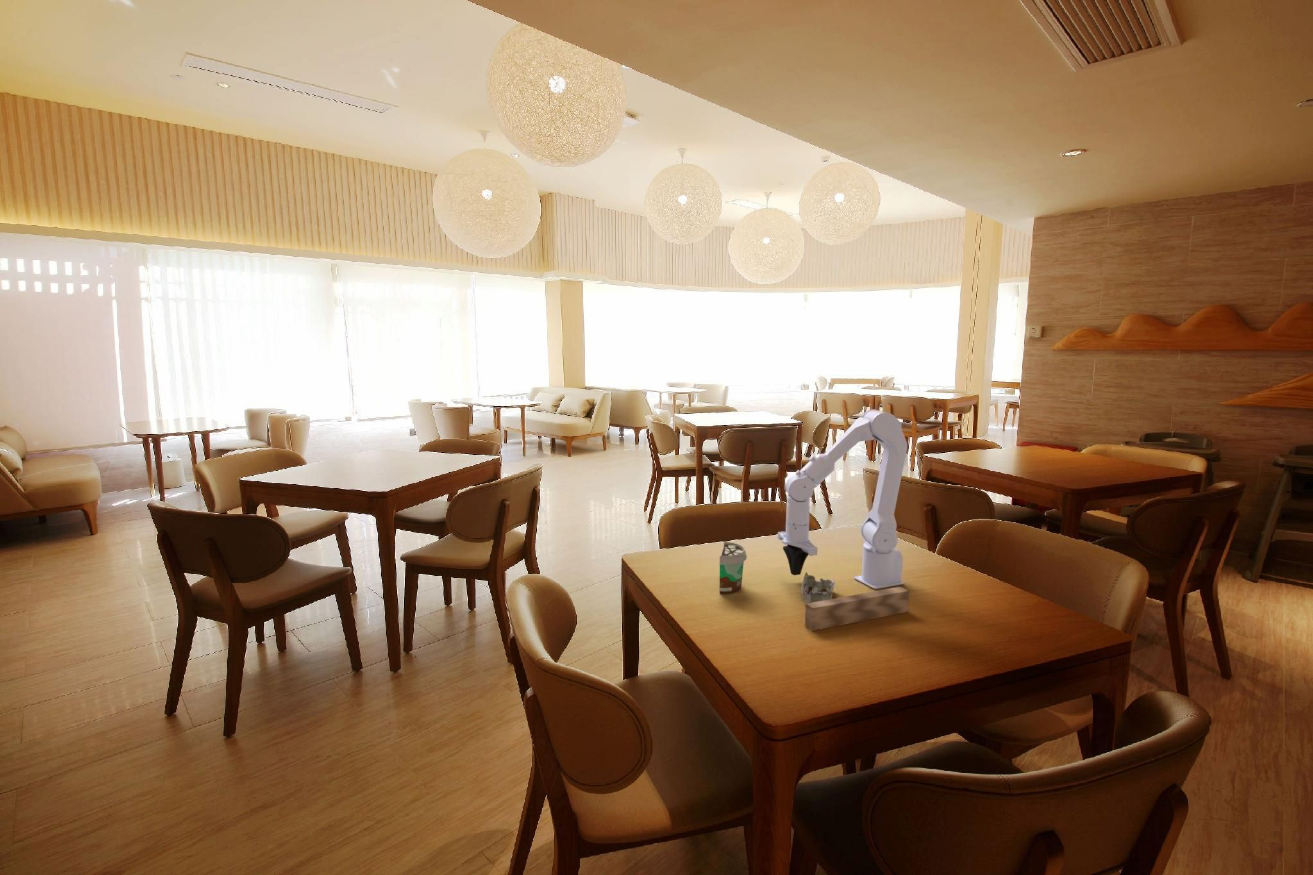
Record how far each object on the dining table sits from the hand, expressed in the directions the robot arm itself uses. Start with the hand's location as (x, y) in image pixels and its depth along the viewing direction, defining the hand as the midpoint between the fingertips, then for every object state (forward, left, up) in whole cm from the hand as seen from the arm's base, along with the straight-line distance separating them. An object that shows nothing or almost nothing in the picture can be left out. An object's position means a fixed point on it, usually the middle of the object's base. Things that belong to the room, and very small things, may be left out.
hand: (795, 574), depth 151 cm
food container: (+17, -2, -2) cm, 17 cm away
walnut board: (0, +24, -2) cm, 24 cm away
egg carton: (0, +10, -2) cm, 10 cm away
